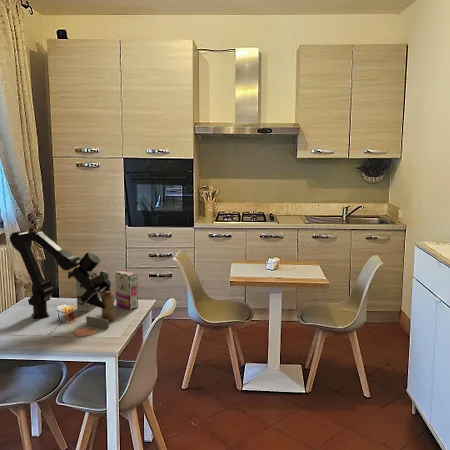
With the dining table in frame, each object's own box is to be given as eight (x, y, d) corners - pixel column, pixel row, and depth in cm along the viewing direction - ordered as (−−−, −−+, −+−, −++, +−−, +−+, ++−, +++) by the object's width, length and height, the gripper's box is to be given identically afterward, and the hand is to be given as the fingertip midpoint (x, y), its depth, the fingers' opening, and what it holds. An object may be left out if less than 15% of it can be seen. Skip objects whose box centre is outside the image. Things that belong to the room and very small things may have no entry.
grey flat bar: (86, 324, 203) (86, 316, 202) (88, 324, 204) (87, 316, 203) (107, 328, 198) (107, 320, 198) (109, 328, 199) (108, 319, 199)
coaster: (72, 330, 196) (71, 329, 196) (94, 326, 201) (94, 325, 200) (76, 337, 189) (76, 336, 188) (99, 333, 193) (99, 332, 193)
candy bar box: (138, 307, 225) (137, 273, 223) (130, 310, 222) (129, 275, 219) (124, 302, 233) (123, 269, 230) (115, 305, 229) (114, 271, 227)
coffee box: (90, 311, 220) (88, 277, 217) (77, 311, 221) (75, 277, 218) (98, 305, 229) (96, 272, 226) (85, 305, 230) (84, 272, 227)
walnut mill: (101, 320, 208) (99, 291, 206) (112, 318, 211) (111, 289, 209) (104, 324, 204) (102, 294, 202) (116, 322, 206) (115, 292, 204)
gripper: (85, 271, 196) (111, 299, 195) (106, 261, 214) (130, 286, 213) (69, 289, 199) (94, 316, 198) (90, 277, 217) (114, 303, 216)
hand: (109, 304), depth 206 cm, fingers open, 9 cm apart
